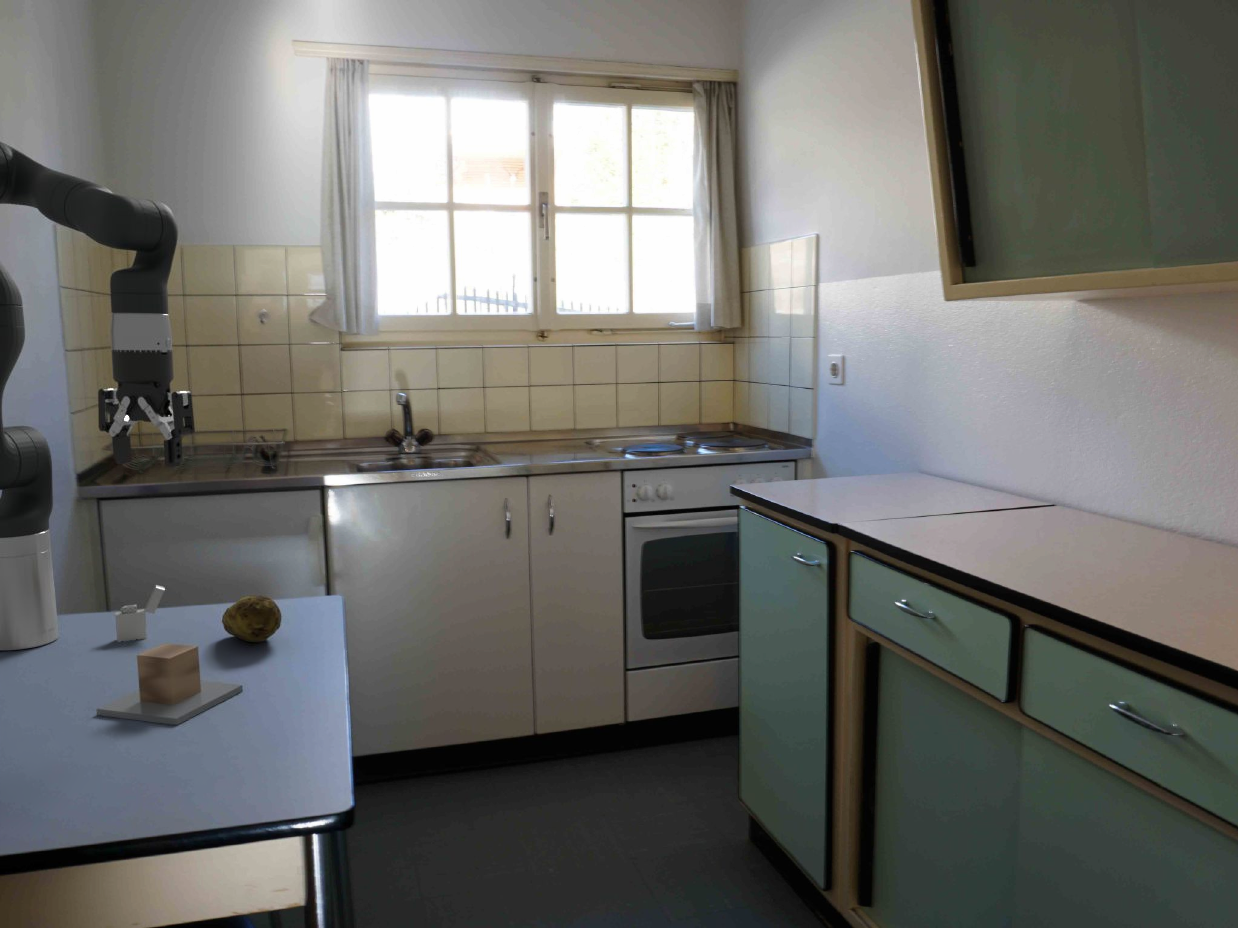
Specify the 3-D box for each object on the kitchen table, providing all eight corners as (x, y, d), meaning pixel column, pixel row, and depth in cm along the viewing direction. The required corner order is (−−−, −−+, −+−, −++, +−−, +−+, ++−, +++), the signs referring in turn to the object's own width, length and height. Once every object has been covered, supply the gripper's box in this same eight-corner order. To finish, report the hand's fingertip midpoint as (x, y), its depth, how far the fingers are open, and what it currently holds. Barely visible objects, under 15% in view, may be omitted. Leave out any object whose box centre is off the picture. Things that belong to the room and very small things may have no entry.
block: (140, 701, 123) (136, 654, 123) (169, 687, 128) (166, 643, 127) (172, 705, 122) (169, 658, 121) (201, 691, 127) (198, 646, 126)
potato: (278, 628, 157) (275, 579, 156) (285, 651, 145) (282, 599, 144) (222, 635, 154) (219, 585, 153) (224, 659, 142) (221, 605, 141)
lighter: (117, 642, 151) (113, 591, 150) (117, 639, 152) (113, 589, 151) (168, 635, 154) (164, 585, 153) (167, 632, 156) (164, 583, 155)
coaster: (96, 714, 121) (96, 708, 121) (167, 682, 132) (167, 676, 132) (176, 724, 118) (176, 718, 117) (242, 690, 129) (242, 684, 129)
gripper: (78, 346, 133) (85, 465, 135) (163, 348, 128) (169, 471, 131) (122, 346, 140) (128, 459, 142) (204, 348, 136) (209, 464, 138)
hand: (148, 464), depth 136 cm, fingers open, 8 cm apart
